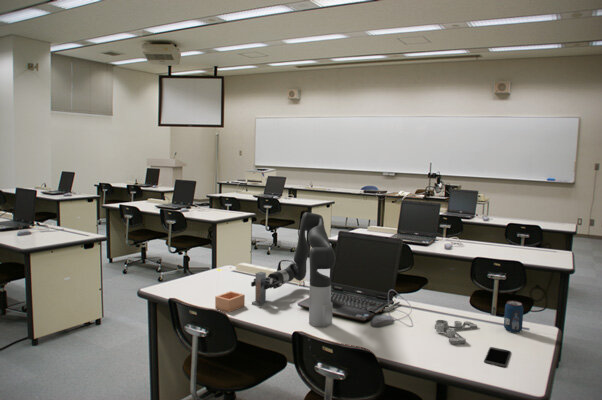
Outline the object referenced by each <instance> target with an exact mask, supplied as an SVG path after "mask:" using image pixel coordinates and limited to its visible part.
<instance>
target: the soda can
mask: <svg viewBox="0 0 602 400" xmlns="http://www.w3.org/2000/svg"><path fill="white" fill-rule="evenodd" d="M523 316H524V306H523V303H522V302H520V301H517V300H507V301H506V303H505V305H504V319H503V320H504V321H503V328H504V330H505V331H506V332H509V333H513V334H520V333H521V332H522V330H523V321H524V317H523Z"/></svg>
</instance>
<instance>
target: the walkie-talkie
mask: <svg viewBox="0 0 602 400" xmlns="http://www.w3.org/2000/svg"><path fill="white" fill-rule="evenodd" d="M400 303H401V302H400V301H397V302H395V303H394V304H390V306H389V307H385V309H384V311H383V312H389V311H391V310H392V311H393V309H394V307H396V306H397V305H399V304H400Z"/></svg>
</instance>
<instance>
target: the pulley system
mask: <svg viewBox="0 0 602 400" xmlns="http://www.w3.org/2000/svg"><path fill="white" fill-rule="evenodd" d="M453 325H454V326H453ZM453 325H449V321H448V320H445V319H437V320H435V324H434V329H435V330H436V332H437V333H444V334H446V337H448V343H450V344H452V345H455V344H465V343H466V342H467V341H466V340H467V339H466V338H465V337H464V336H462V335H461V334H459V333H458V332H457V331H464V330H473V329H474V330H477V329H478V324H475V323H473V322H471V321H468V320H465V321H464V322H462V321H459V320H455V321H454V323H453ZM464 325H466V327H464ZM456 336H457V338H456Z"/></svg>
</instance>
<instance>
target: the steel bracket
mask: <svg viewBox="0 0 602 400" xmlns="http://www.w3.org/2000/svg"><path fill="white" fill-rule="evenodd" d="M266 277H267V272H265V271H259V272H256V273H255V278H256V286H255V287H254V288H255V293H254V295H255V300H254V301H251V305H253V306H256V305H257V306H258V307H260V306H262V305H265V304H267V303H268V301H267V298H266V297H267V296H266V295H267V294H266V293H267V289H266V290H265V289H264V285H266ZM257 306H256V307H257Z"/></svg>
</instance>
